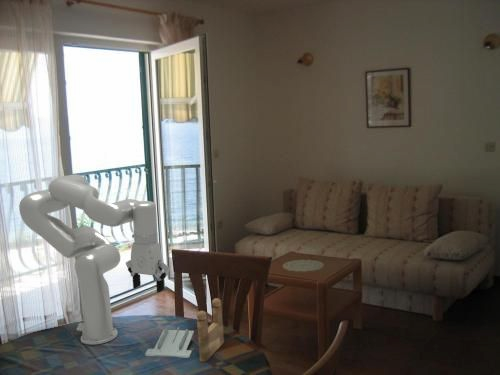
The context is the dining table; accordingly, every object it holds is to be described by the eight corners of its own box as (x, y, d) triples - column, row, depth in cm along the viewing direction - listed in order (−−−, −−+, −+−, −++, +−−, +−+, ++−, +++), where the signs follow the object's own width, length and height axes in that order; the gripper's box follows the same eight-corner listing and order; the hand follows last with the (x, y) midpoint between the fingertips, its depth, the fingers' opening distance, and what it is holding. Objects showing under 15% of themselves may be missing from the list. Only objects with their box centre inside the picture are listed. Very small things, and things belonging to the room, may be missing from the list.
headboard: (198, 360, 157) (195, 312, 155) (217, 341, 170) (214, 296, 168) (207, 362, 156) (203, 313, 154) (225, 342, 169) (222, 297, 167)
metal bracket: (157, 323, 174) (199, 325, 171) (160, 337, 176) (202, 338, 173) (142, 353, 161) (187, 355, 158) (146, 367, 163) (190, 369, 160)
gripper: (117, 239, 166) (120, 289, 168) (160, 244, 158) (163, 296, 161) (132, 234, 173) (135, 282, 175) (174, 238, 165) (176, 289, 167)
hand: (148, 289), depth 168 cm, fingers open, 9 cm apart
